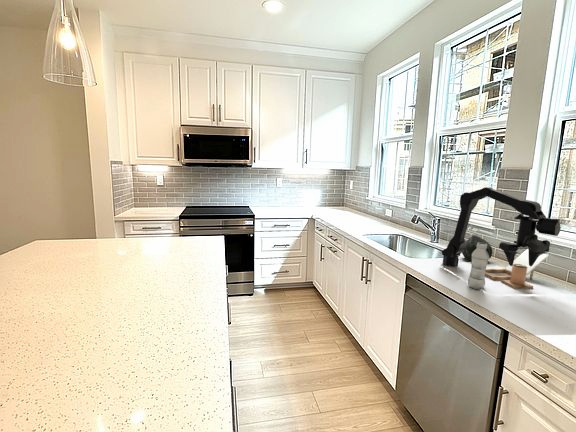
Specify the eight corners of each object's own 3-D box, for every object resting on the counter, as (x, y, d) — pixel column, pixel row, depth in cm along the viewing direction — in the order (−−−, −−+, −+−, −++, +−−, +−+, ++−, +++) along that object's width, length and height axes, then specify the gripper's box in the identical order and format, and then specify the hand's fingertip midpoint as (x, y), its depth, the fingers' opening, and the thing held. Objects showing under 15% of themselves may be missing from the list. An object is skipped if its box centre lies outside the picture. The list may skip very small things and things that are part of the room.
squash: (503, 255, 166) (488, 231, 173) (484, 258, 161) (469, 233, 168) (482, 265, 178) (468, 242, 185) (464, 268, 172) (451, 245, 179)
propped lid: (522, 282, 142) (527, 254, 140) (503, 273, 153) (508, 247, 150) (544, 282, 143) (549, 254, 141) (524, 273, 154) (528, 248, 151)
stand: (513, 290, 131) (514, 286, 131) (500, 284, 138) (501, 280, 138) (532, 290, 132) (533, 286, 132) (519, 284, 139) (519, 280, 139)
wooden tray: (492, 282, 140) (493, 276, 140) (476, 273, 151) (476, 268, 151) (522, 282, 142) (523, 277, 141) (504, 273, 153) (505, 268, 152)
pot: (516, 285, 132) (519, 267, 131) (506, 280, 137) (509, 263, 136) (527, 285, 133) (530, 267, 131) (517, 280, 138) (520, 263, 136)
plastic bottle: (481, 286, 134) (488, 242, 131) (486, 292, 128) (493, 246, 125) (465, 284, 137) (471, 240, 133) (468, 289, 130) (475, 244, 127)
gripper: (522, 235, 122) (515, 272, 125) (565, 235, 124) (557, 272, 126) (500, 229, 133) (495, 263, 135) (540, 229, 135) (534, 263, 137)
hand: (520, 265), depth 133 cm, fingers open, 9 cm apart
